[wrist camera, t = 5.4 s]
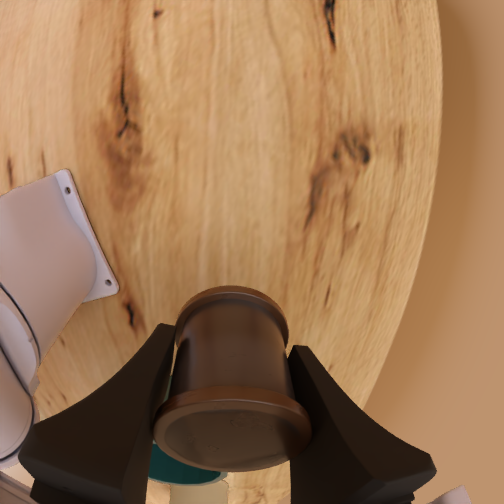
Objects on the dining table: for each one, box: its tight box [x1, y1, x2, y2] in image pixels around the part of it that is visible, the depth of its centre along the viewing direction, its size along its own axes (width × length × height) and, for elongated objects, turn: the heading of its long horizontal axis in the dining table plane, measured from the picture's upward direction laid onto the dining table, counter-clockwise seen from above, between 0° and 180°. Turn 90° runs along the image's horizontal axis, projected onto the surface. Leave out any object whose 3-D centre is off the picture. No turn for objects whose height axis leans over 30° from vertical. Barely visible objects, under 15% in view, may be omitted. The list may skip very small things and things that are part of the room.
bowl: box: [148, 376, 228, 486], centre depth 23 cm, size 10×10×7 cm
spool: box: [152, 286, 312, 472], centre depth 10 cm, size 5×5×6 cm
